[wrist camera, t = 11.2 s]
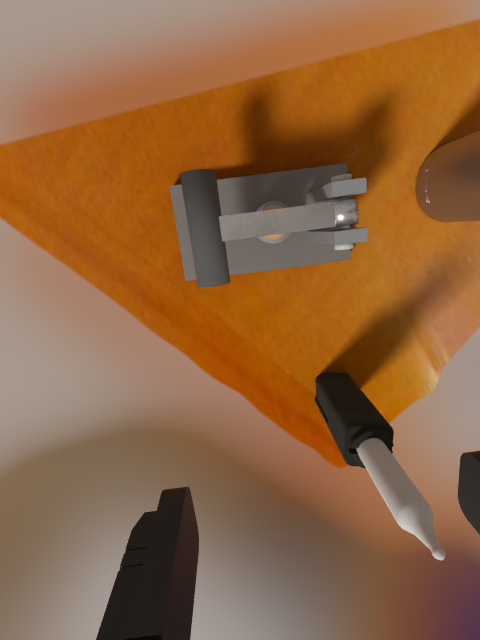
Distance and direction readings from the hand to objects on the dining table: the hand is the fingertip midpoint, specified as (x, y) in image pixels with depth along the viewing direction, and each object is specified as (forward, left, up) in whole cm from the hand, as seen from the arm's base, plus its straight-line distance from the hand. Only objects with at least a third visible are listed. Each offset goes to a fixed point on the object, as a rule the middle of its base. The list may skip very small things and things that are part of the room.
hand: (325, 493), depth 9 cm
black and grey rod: (-10, +16, -34) cm, 39 cm away
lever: (-2, -8, -26) cm, 27 cm away
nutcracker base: (-2, -8, -34) cm, 35 cm away
